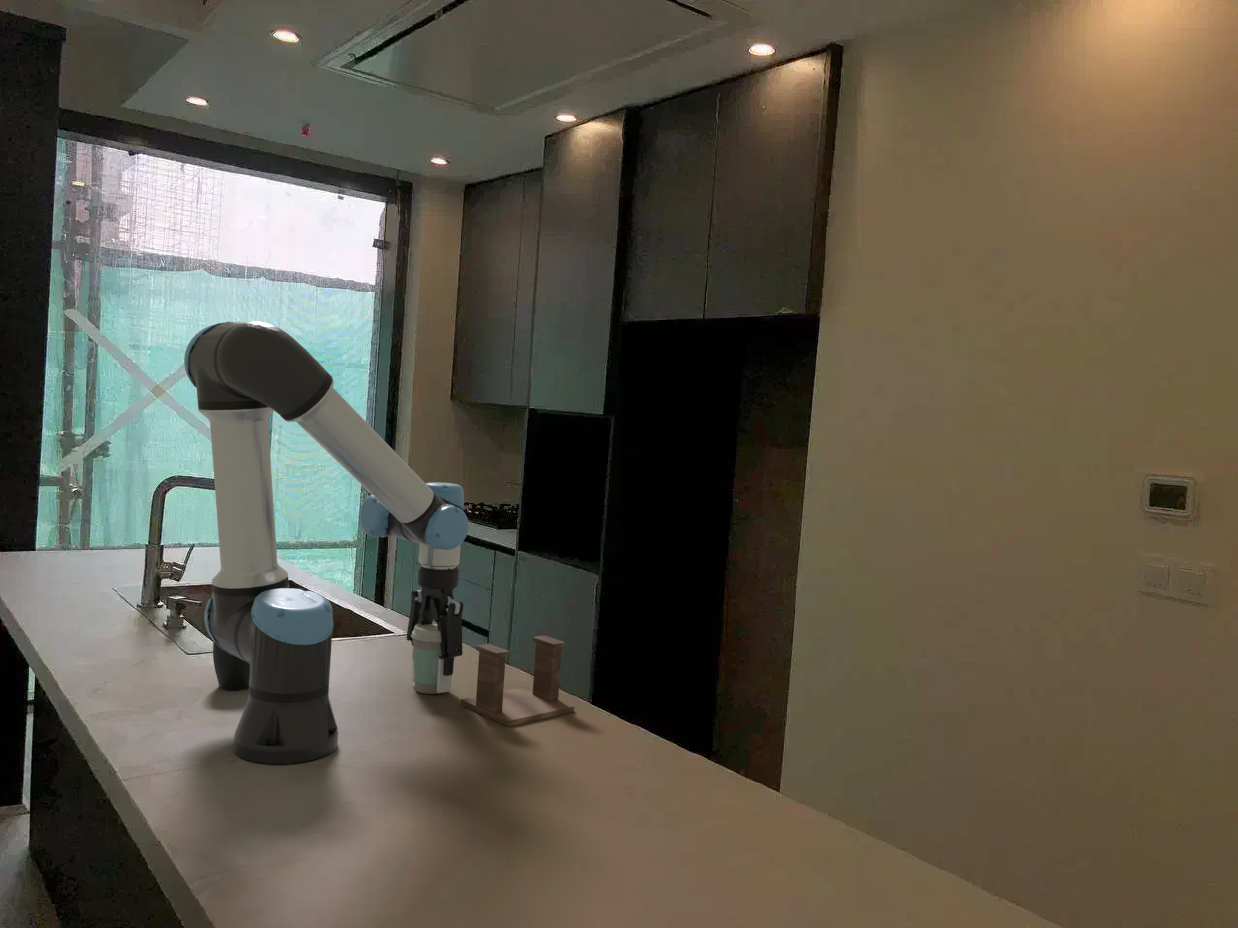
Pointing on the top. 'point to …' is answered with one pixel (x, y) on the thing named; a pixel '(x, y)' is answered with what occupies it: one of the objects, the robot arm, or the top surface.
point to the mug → (230, 670)
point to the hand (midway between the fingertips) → (431, 685)
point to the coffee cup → (426, 657)
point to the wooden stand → (519, 701)
